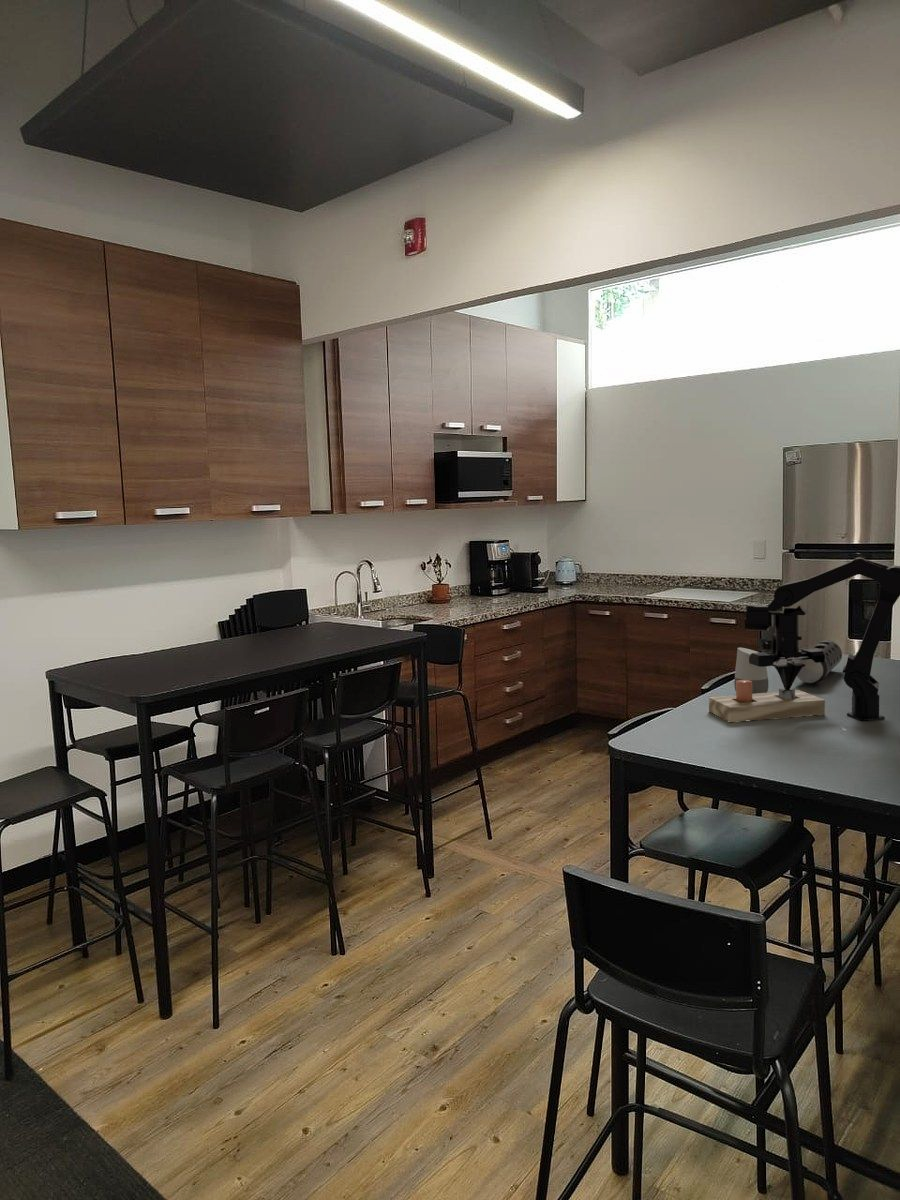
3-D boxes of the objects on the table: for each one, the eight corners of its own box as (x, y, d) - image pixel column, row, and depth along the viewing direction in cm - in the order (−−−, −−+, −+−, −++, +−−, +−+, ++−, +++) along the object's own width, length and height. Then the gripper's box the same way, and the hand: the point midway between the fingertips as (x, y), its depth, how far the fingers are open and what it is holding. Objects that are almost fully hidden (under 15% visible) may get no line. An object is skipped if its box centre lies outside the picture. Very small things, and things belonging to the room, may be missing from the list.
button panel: (824, 714, 211) (824, 699, 210) (730, 722, 208) (729, 707, 207) (799, 704, 223) (799, 690, 222) (709, 711, 219) (708, 697, 219)
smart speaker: (769, 700, 229) (769, 651, 227) (734, 699, 232) (734, 651, 230) (767, 693, 238) (767, 645, 236) (734, 692, 241) (734, 645, 239)
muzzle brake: (843, 671, 262) (843, 640, 261) (825, 689, 239) (826, 654, 238) (811, 669, 267) (811, 638, 266) (791, 686, 245) (791, 652, 244)
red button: (755, 703, 212) (755, 682, 212) (740, 704, 212) (740, 683, 211) (747, 699, 216) (747, 679, 216) (733, 700, 216) (733, 680, 215)
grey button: (798, 710, 214) (798, 690, 214) (784, 712, 214) (783, 691, 213) (789, 707, 218) (789, 687, 217) (776, 708, 218) (775, 688, 217)
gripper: (802, 625, 223) (803, 681, 224) (738, 629, 220) (739, 686, 222) (826, 630, 212) (826, 689, 213) (759, 635, 209) (760, 694, 211)
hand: (787, 689), depth 215 cm, fingers closed, pressing on grey button
